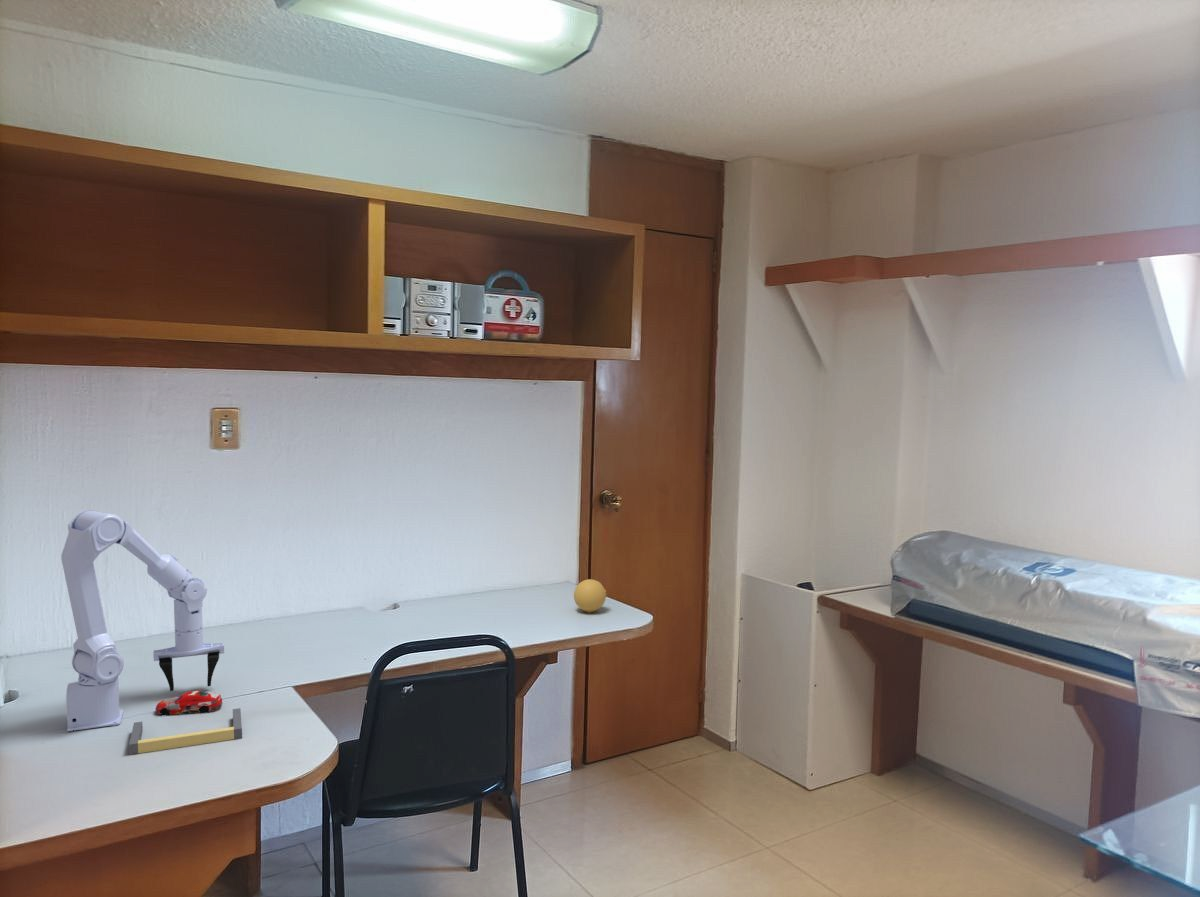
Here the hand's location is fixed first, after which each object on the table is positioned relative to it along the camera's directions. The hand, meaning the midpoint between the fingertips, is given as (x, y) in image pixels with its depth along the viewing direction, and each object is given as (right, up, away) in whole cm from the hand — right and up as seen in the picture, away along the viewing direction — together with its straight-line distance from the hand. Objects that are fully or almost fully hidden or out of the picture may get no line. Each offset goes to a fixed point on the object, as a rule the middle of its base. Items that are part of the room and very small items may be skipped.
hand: (190, 687), depth 200 cm
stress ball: (+90, +4, +71) cm, 115 cm away
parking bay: (+10, -4, -23) cm, 25 cm away
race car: (+4, -3, -10) cm, 11 cm away
